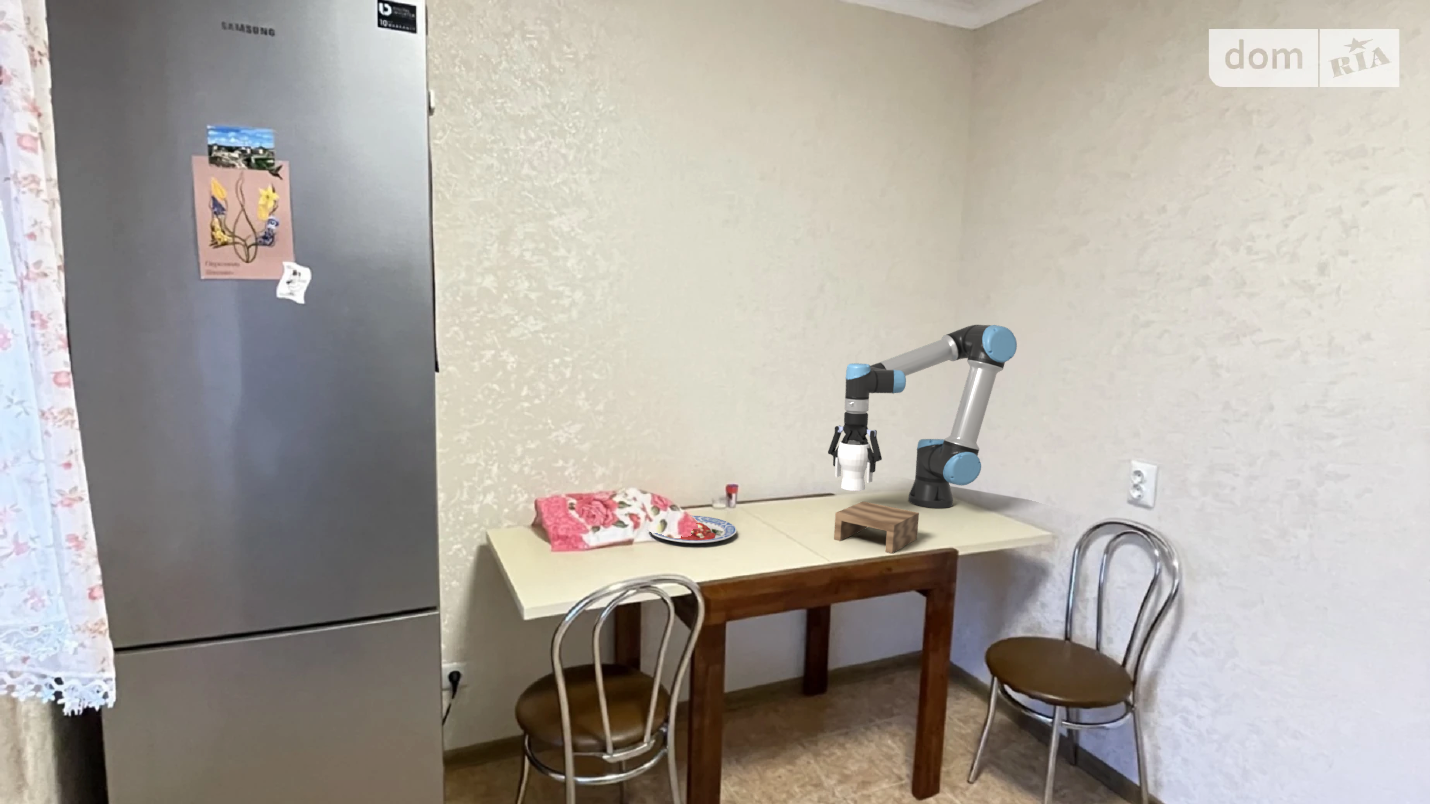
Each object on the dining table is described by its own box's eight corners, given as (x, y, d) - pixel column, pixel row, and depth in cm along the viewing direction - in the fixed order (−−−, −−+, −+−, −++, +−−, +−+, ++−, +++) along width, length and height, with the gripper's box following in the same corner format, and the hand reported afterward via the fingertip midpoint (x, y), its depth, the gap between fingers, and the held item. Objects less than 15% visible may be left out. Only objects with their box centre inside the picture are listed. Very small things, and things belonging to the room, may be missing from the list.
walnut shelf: (861, 526, 226) (863, 501, 225) (917, 539, 215) (919, 512, 214) (833, 539, 211) (835, 512, 210) (892, 553, 201) (894, 525, 200)
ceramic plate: (634, 543, 202) (635, 532, 201) (663, 518, 227) (663, 509, 226) (725, 553, 196) (725, 543, 196) (743, 527, 221) (744, 518, 220)
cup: (867, 484, 241) (869, 440, 239) (871, 492, 230) (873, 446, 228) (835, 483, 242) (837, 439, 240) (837, 491, 231) (839, 445, 229)
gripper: (818, 409, 237) (816, 475, 239) (885, 416, 223) (881, 487, 226) (829, 407, 243) (827, 471, 245) (895, 414, 229) (891, 482, 231)
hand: (853, 479), depth 235 cm, fingers closed on cup, 11 cm apart
